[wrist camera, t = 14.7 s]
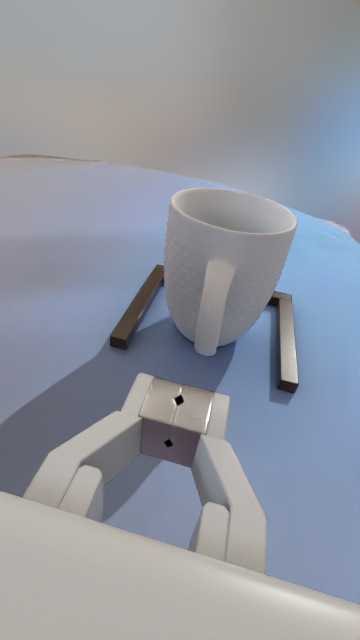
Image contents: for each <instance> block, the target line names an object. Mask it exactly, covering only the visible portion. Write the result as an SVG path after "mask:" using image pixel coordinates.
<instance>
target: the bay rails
mask: <svg viewBox="0 0 360 640" xmlns="http://www.w3.org/2000/svg"><path fill="white" fill-rule="evenodd" d="M163 282H164V266H162V265H156V267H155V268H154V270H153V271H152V273H151V274H150V276H149V278H148V279H147V281H146V282H145V284H144V285H143V287H142V288H141V290H140V291H139V293H138V294H137V296H136V297H135V299H134V300H133V302H132V304H131V305H130V307H129V308H128V310H127V311H126V313H125V314H124V316H123V317H122V319H121V320H120V322H119V323H118V325H117V327H116V328H115V330H114V331H113V333H112V334H111V336H110V345H111V346H114V347H118V348H122V349H126V348H127V346H128V344H129V343H130V341H131V339H132V337H133V335H134V334H135V332H136V330H137V328H138V327H139V325H140V323H141V321H142V319H143V318H144V316H145V314H146V312H147V311H148V309H149V307H150V305H151V303H152V302H153V300H154V298H155V296H156V295H157V293H158V291H159V289H160V287H161V286H162V284H163ZM267 304H270V305H274V306H276V326H277V389H281V390H285V391H288V392H292V393H295V391H296V389H297V387H298V385H299V380H298V368H297V356H296V343H295V331H294V319H293V306H292V295H290V294H286V293H281V292H277V291H274V292H273V294H272V296H271V299H270V300H269V302H268V303H267Z"/></svg>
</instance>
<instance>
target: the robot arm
mask: <svg viewBox="0 0 360 640" xmlns="http://www.w3.org/2000/svg"><path fill="white" fill-rule="evenodd" d="M229 405H230V396H228V395H224V394H220V393H216V392H213V391H209V390H205V389H201V388H197V387H193V386H189V385H185V384H184V385H183V384H179V383H176V382H173V381H169V380H166V379H162V378H159V377H155V376H151V375H148V374H144V373H139V374H138V375H137V377H136V379H135V381H134V383H133V386H132V388H131V390H130V392H129V394H128V396H127V398H126V400H125V403H124V405H123V407H122V409H121V411H114V412H113V413H111V414H109V415H108V416H106V417H105V418H103V419H102V420H100V421H98V422H97V423H95V424H94V425H92V426H90V427H89V428H87V429H86V430H84V431H82V432H81V433H79V434H78V435H76V436H74V437H73V438H71V439H70V440H68V441H67V442H65V443H63V444H62V445H60V446H59V447H57V448H55V449H54V450H52V451H51V452H49V454H48V455H47V457H46V459H45V460H44V462H43V463H42V465H41V467H40V468H39V470H38V472H37V473H36V475H35V476H34V478H33V480H32V481H31V483H30V485H29V486H28V488H27V490H26V491H25V493H24V494H23V496H22V498H21V497H18V496H15V495H12V494H9V493H6V492H2V491H0V640H360V604H356V603H353V602H350V601H347V600H344V599H341V598H338V597H334V596H331V595H328V594H325V593H322V592H319V591H315V590H312V589H309V588H306V587H303V586H300V585H296V584H293V583H290V582H287V581H284V580H281V579H278V578H274V577H271V576H268V575H266V536H267V517H266V515H265V513H264V511H263V509H262V507H261V505H260V503H259V501H258V499H257V497H256V495H255V493H254V491H253V489H252V487H251V485H250V483H249V481H248V479H247V477H246V475H245V473H244V470H243V468H242V466H241V464H240V462H239V460H238V458H237V456H236V454H235V452H234V450H233V448H232V446H231V444H230V442H228V441H225V435H226V427H227V420H228V412H229ZM139 453H141V454H144V455H148V456H152V457H156V458H160V459H164V460H167V461H170V462H173V463H177V464H180V465H183V466H186V467H189V468H191V471H192V474H193V477H194V481H195V484H196V487H197V490H198V494H199V497H200V500H201V504H202V507H203V509H202V511H201V514H200V517H199V519H198V522H197V525H196V527H195V530H194V532H193V535H192V538H191V540H190V544H189V549H188V550H186V549H183V548H180V547H176V546H173V545H170V544H167V543H164V542H161V541H157V540H154V539H151V538H148V537H145V536H142V535H139V534H135V533H132V532H129V531H126V530H123V529H120V528H116V527H113V526H110V525H107V524H104V523H101V521H102V518H103V516H104V510H103V487H104V486H105V485H106V484H107V483H108V482H109V481H110V480H111V479H113V478H114V477H115V476H116V475H117V474H118V473H119V472H120V471H122V470H123V469H124V468H125V467H126V466H127V465H128V464H129V463H131V462H132V461H133V460H134V459H135V458H136V457H137V456H138V455H139Z"/></svg>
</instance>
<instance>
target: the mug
mask: <svg viewBox="0 0 360 640" xmlns="http://www.w3.org/2000/svg"><path fill="white" fill-rule="evenodd" d="M297 224H298V222H297V219H296V217H295V216H294V214H293V213H292V212H291V211H289V210H288V209H287V208H285V207H284V206H282V205H280V204H278V203H276V202H274V201H272V200H269V199H266V198H264V197H260V196H257V195H253V194H250V193H245V192H241V191H235V190H229V189H220V188H191V189H185V190H182V191H179V192H177V193H175V194H174V195H173V196H172V197H171V199H170V205H169V214H168V222H167V232H166V239H165V242H166V244H165V253H164V256H165V258H164V259H165V260H164V282H165V283H164V285H165V293H166V300H167V303H168V308H169V311H170V315H171V317H172V319H173V321H174V323H175V325H176V327H177V328H178V330H179V331H180V332H181V333H182V334H183V335H184V336H185V337H186V338H187V339H189V340H191V341H192V342H195V350H196V352H198V353H200V354H202V355H206V356H212V355H214V354H215V353H216V350H217V346H223V345H227V344H229V343H232V342H234V341H235V340H237V339H238V338H240V337H241V336H242V335H243V334H244V333H246V332H247V331H248V330H249V329H250V328H251V326H253V325H254V323H255V322H256V320H257V319H258V318H259V317H260V315H261V313H262V312H263V310H264V309H265V307H266V306H267V303H268V302H269V300H270V299H271V296H272V294H273V292H274V290H275V287H276V286H277V282H278V280H279V278H280V275H281V273H282V269H283V267H284V265H285V261H286V259H287V256H288V253H289V251H290V246H291V243H292V240H293V237H294V234H295V231H296V228H297Z"/></svg>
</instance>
